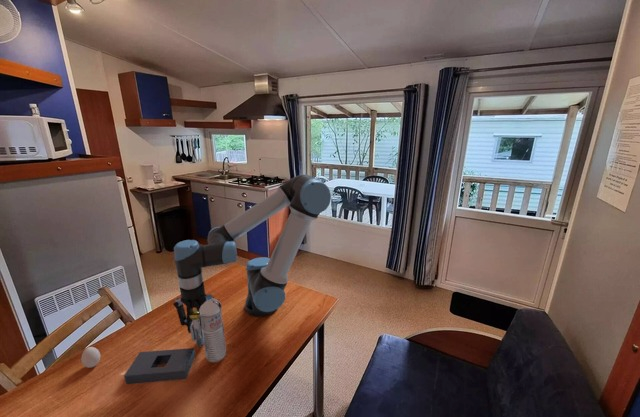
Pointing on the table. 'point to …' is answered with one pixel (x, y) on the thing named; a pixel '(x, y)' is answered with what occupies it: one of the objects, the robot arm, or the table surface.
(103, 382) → the table surface
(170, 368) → the grey block with hole
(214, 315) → the water bottle
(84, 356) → the egg
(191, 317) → the pin
